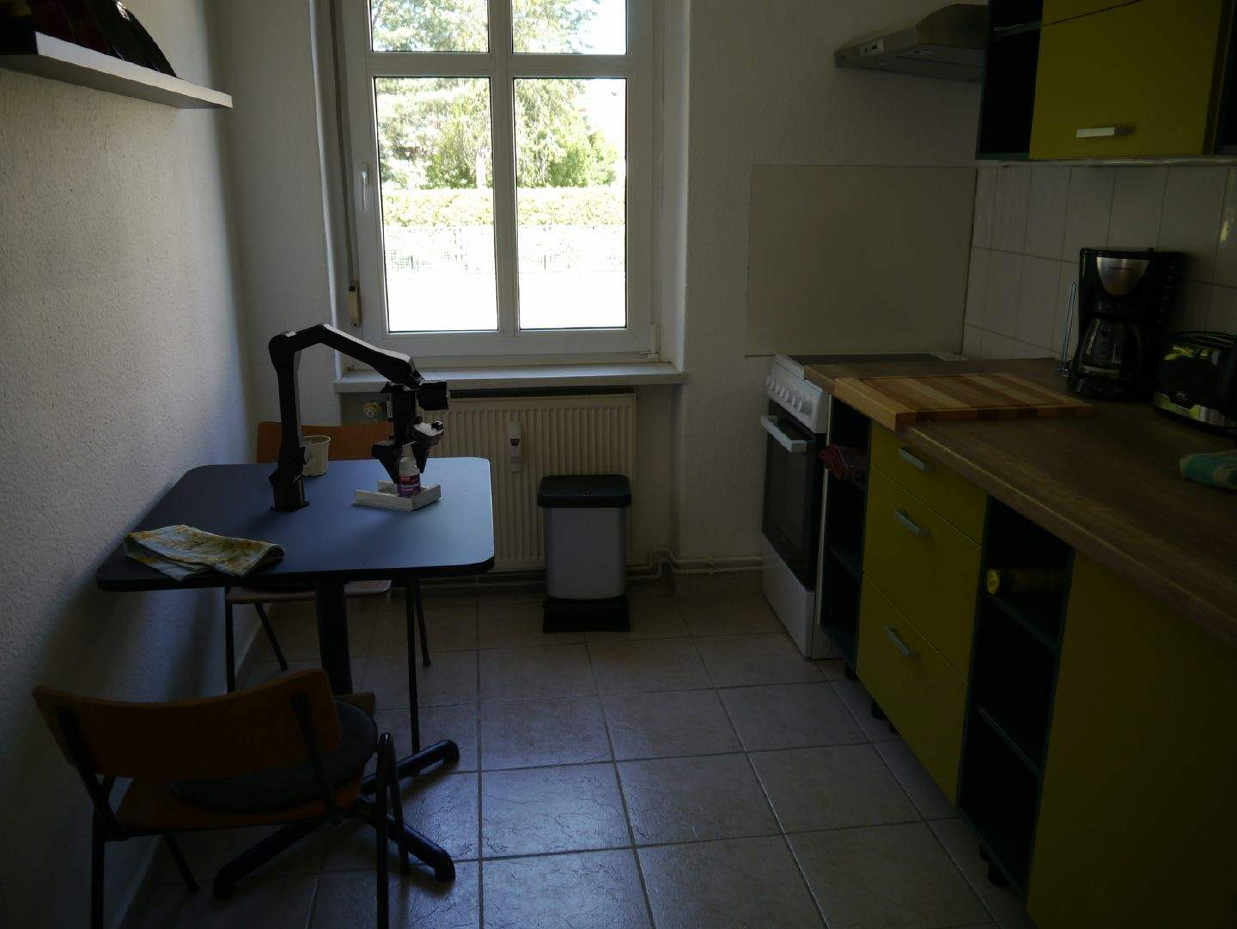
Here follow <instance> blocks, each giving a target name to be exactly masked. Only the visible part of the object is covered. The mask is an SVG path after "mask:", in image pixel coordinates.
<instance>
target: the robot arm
mask: <svg viewBox="0 0 1237 929" xmlns="http://www.w3.org/2000/svg"><path fill="white" fill-rule="evenodd" d="M319 344H322V345H325V346H326V347H328V348H331V349H333V350H336V351H337V352H340V353H342V354H344V355H347V356H349V358H353V359H355V360H357V361H359V362H361V363H363V364H365V365H368V366H370V367H371V368H372V369H374V370H375V371H376V372H377V373H378V374H379V375H381V376H382V377H384V378H386V380H387V381H386V383H385V385H384V386H382V388H381V389H380V390H379V393H380V394H389V401H390V402H389V404H390V416H388V417H387V422H388V423H391V427H392V434H389V435H388V439H389V440H391V441H389V440H381V441H378V442H375V443H373V444H372V445H371V446H370V457H372V458H374V459H376V460H378V461H379V462H380V463H381V465H382V467H383V468H384V470H385V471H386V473H387V474H388V475H389V478H390V479H391V481H392V482H394V484H399V479H400V471H399V463H400V461H401V460H402V458H405V457H404V455H402V454H403V451H404V450H403V448H406V447H408V446H410V447H411V452H412V454H413V458H415V459H416V466H415V467H417V468H419V470H420V475H421V474H424V473H425V469H426V465H427V461H428V457H429V454H430V451H431V450H432V448H434V446H438V445H439V443H440V440H441V438H442V437H445V432H444V428H445V427H444V422H441V421H440V420H436V421H433V422H432V423H430V422H429V423H426V422H424V420H423V419H424V418H423V416H422V414H418V408H421V410H423V411H424V412H435V411H436V412H439V411H443V412H445V411H450V410H451V392H450V388H449V385H448V380H447V379H439V380H431V381H430V380H426V379H425V378H424V376H423V375H422V374H421V373H420V372H419V371H418V369H417V368H416V364H415V361H414V359H413V358H412V356H409V355H408V354H405V353H402V352H399V351H398V352H397V351H395V350H388V349H384V348H383V349H382V348H379V347H377V346H374V345H372V344H370V343H368V342H366V341H363V340H361V339H359V338H357V337H355V336H353V335H350V334H348V333H347V332H344V331H342V330H340V329H337V328H335V327H333V326H332V325H331V324H329V323H328V322H318V323H317V324H315V325H313V326H310V327H306V328H303V329H300V330H298V331H293V330H284V331H283V330H282V331H281V332H280V333H278V334H276V335H274V336H272V338H271V339H270V340H269V341H268V344H267V346H268V347H267V349H268V354H269V357H270V362H271V364H272V366H273V369H274V370H275V372H276V376H277V385H278V386H277V388H278V400H279V416H280V427H281V441H280V445H279V450H278V456H277V463H276V464H277V465H276V466H277V468H276V469H275V470H274V471H273V472H272V473H271V474H270V475H269V476H268V478H267V479H268V481H269V483H270V484H271V487H272V495H273V503H274V504H272V505H269V509H270V510H277V511H284V512H294V511H297V510H298V509H301V508H303V507H306V506H308V505H310V504H311V503H310V502H311V501H307V500H306V495H305V487H304V486H305V485H304V484H305V483H304V482H303V477H301V476H303V474H302V472H303V471H304V470H305V468H306V467H307V466H308V465H309V463H310V460H311V459H312V457H313V455H312V452H311V444H312V441H311V440H309V441H305V439H304V437H305V436H304V435H303V430H302V429H303V428H302V427H303V426H302V415H301V402H300V388H299V387H300V386H299V375H298V374H299V369H300V363H301V359H302V351H303V350H305V349H307V348H310V347H312V346H316V345H319ZM417 403H418V406H417Z"/></svg>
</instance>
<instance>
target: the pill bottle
mask: <svg viewBox="0 0 1237 929" xmlns="http://www.w3.org/2000/svg"><path fill="white" fill-rule="evenodd" d="M399 471H400V479H399V484H397V495H401V496H408V497H411V495H413V494H416V493H418V492H420V491H421V483H422V482H421V473H420V470H419V468H417V466H416V459H415V458H414V457H411V456H409V457H408V456H406V457H403V458H402V460H401V461H400V463H399Z"/></svg>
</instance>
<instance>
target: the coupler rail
mask: <svg viewBox="0 0 1237 929" xmlns="http://www.w3.org/2000/svg"><path fill="white" fill-rule="evenodd" d="M441 487H442V486H441V484H438V483H436V484H433V485H431V486H430V485H423V484H422V485H421V491H420V492H418V493H416V494H413V495H411V497H408V496H401V495H397V484H394V482H393V481H392V480H391V481H390V480H383V479H379V480H377V490H375V491H374V490H373V491H372V490H365V489H356V490H354V500H352V504H354V505H362V506H368V507H375V508H382V509H389V510H395V511H402V512H410V513H411V512H413V511H415V510H417V509H419V508H421V507H423V506H425V505H428V504H430V503H432V502H434V501H436V500H439V499H440V498H441V497H442V490H441V489H442V488H441Z"/></svg>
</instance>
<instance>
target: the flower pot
mask: <svg viewBox="0 0 1237 929" xmlns="http://www.w3.org/2000/svg"><path fill="white" fill-rule="evenodd" d="M303 437H304V439H305V441H309V440H311V441H312V444H311V452H312V455H313V457H312V459H311V460H310V463H309V465H308V466H307V467H306V468H305V470H304V471H303V472H302V476H306V477H308V476H312V477H316V476H321V475H324V474H326V473H327V472H328V461H329V460H328V456H329V446H330V441H331V437H329V436H327V435H309V436H303Z"/></svg>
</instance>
